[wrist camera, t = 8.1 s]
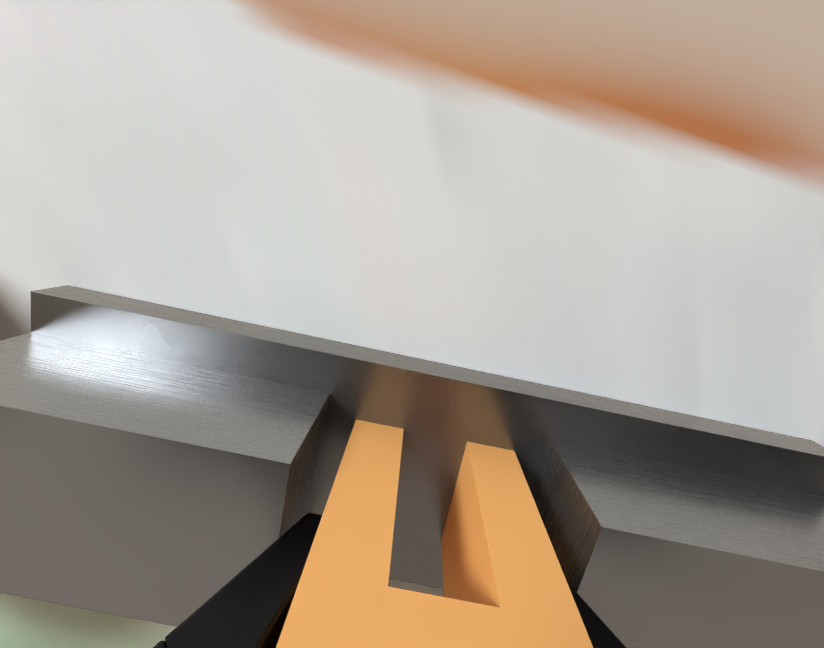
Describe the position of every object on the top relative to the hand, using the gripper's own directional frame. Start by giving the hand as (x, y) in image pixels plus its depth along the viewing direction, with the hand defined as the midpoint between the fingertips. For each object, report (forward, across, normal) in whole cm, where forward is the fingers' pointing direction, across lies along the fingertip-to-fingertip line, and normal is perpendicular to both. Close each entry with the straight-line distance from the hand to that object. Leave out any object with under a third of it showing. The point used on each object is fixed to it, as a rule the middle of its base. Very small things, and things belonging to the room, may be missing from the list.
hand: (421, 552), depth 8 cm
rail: (+3, 0, 0) cm, 3 cm away
